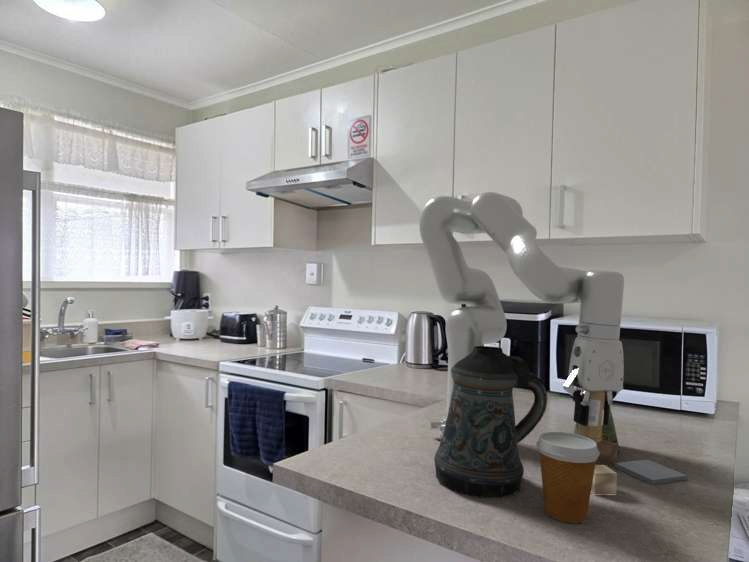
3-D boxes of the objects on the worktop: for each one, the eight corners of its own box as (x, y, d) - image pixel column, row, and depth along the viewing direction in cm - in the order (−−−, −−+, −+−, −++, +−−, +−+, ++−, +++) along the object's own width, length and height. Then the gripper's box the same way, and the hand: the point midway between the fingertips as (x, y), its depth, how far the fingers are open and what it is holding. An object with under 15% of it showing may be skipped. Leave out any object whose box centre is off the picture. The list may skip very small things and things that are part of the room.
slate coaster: (652, 484, 91) (652, 480, 91) (614, 467, 100) (614, 463, 100) (686, 479, 94) (686, 475, 94) (647, 463, 103) (647, 459, 103)
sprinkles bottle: (606, 441, 95) (612, 374, 95) (593, 444, 93) (599, 375, 93) (585, 433, 99) (591, 369, 99) (572, 436, 97) (577, 370, 96)
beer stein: (418, 469, 95) (422, 342, 95) (497, 458, 103) (501, 341, 103) (466, 505, 80) (471, 354, 80) (555, 489, 87) (560, 352, 88)
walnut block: (608, 466, 101) (609, 447, 101) (589, 460, 104) (590, 441, 104) (616, 462, 103) (617, 443, 103) (598, 456, 106) (598, 438, 106)
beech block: (594, 495, 86) (595, 473, 86) (583, 486, 89) (583, 464, 90) (616, 495, 86) (616, 473, 86) (603, 486, 90) (604, 465, 90)
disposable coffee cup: (576, 535, 71) (578, 454, 71) (522, 509, 79) (524, 436, 79) (609, 518, 77) (611, 443, 77) (556, 496, 84) (558, 428, 84)
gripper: (578, 334, 89) (570, 431, 90) (646, 336, 95) (638, 427, 95) (551, 328, 96) (543, 418, 97) (615, 330, 102) (608, 415, 102)
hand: (590, 422), depth 96 cm, fingers closed on sprinkles bottle, 4 cm apart
